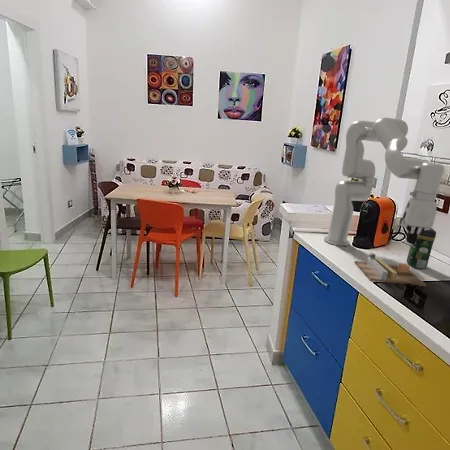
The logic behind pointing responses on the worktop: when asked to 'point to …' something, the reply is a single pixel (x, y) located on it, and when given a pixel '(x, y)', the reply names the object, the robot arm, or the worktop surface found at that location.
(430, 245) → the coffee jar
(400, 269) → the lock tab
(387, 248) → the worktop surface
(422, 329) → the worktop surface
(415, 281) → the board
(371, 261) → the tongs base
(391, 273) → the tong jaw
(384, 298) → the worktop surface
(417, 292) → the worktop surface
